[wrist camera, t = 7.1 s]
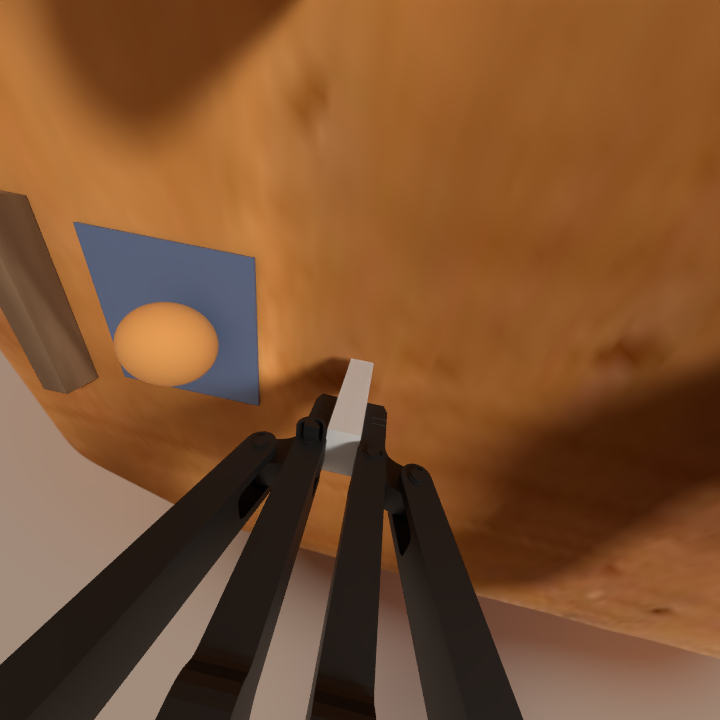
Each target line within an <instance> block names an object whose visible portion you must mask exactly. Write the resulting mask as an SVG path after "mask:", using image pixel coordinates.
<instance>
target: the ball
mask: <svg viewBox="0 0 720 720" xmlns="http://www.w3.org/2000/svg"><path fill="white" fill-rule="evenodd" d="M218 348H219V344H218V337H217V334H216V331H215V329H214V327H213V326H212V324H211V323H210V322H209V320H208V319H207V318H206V317H205V316H203V315H202V314H201V313H200V312H198V311H196V310H195V309H193V308H191V307H189V306H186V305H183V304H179V303H173V302H155V303H150V304H146V305H143V306H141V307H138V308H136V309H134V310H133V311H131V312H130V313H129V314H127V315H126V316H125V317H124V318H123V320H122V321H121V322H120V323H119V325H118V327H117V329H116V332H115V335H114V350H115V354H116V356H117V358H118V360H119V362H120V364H121V365H122V366H123V367H124V369H125V370H126V371H127V372H129V373H130V374H131V375H132V376H134V377H135V378H137V379H139V380H141V381H143V382H146V383H149V384H152V385H157V386H179V385H183V384H187V383H190V382H192V381H195V380H196V379H198V378H200V377H201V376H203V375H204V374H205V373H206V372H207V371H208V370H209V369H210V368H211V367H212V365H213V364H214V362H215V360H216V357H217V354H218Z"/></svg>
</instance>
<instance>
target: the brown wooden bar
mask: <svg viewBox="0 0 720 720" xmlns="http://www.w3.org/2000/svg"><path fill="white" fill-rule="evenodd" d="M0 307H1V309H2V311H3V313H4V315H5V316H6V318H7V320H8V322H9V324H10V326H11V328H12V330H13V332H14V333H15V335H16V337H17V339H18V341H19V343H20V345H21V347H22V348H23V350H24V352H25V354H26V356H27V358H28V360H29V362H30V363H31V365H32V367H33V369H34V371H35V373H36V375H37V377H38V378H39V380H40V382H41V384H42V386H43V388H44V389H47V390H51V391H56V392H60V393H65V394H68V393H70V392H72V391H74V390H76V389H78V388H80V387H82V386H83V385H85V384H87V383H89V382H91V381H93V380H95V379H97V378H98V376H97V373H96V371H95V368H94V366H93V363H92V361H91V358H90V356H89V353H88V351H87V348H86V346H85V343H84V341H83V338H82V336H81V333H80V330H79V328H78V325H77V323H76V320H75V318H74V315H73V313H72V310H71V308H70V305H69V303H68V300H67V298H66V295H65V293H64V290H63V288H62V285H61V283H60V280H59V278H58V275H57V272H56V270H55V267H54V265H53V262H52V260H51V257H50V255H49V252H48V250H47V247H46V245H45V242H44V240H43V237H42V235H41V232H40V230H39V227H38V225H37V222H36V219H35V217H34V214H33V212H32V209H31V207H30V204H29V202H28V199H27V197H26V195H21V194H16V193H11V192H6V191H1V190H0Z"/></svg>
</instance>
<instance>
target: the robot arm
mask: <svg viewBox="0 0 720 720" xmlns="http://www.w3.org/2000/svg"><path fill="white" fill-rule="evenodd" d="M373 364H374V363H371V362H367V361H362V360H357V359H352V358H351V361H350V364H349V367H348V370H347V373H346V376H345V379H344V382H343V384H342V387H341V390H340V393H339V396H338V397H335V396H331V395H326V394H322V395H321V396H319V397H318V398H317V399H316V401H315V404H314V406H313V408H312V411H311V412H310V415H309V416H308V417H304V418H302V419H300V420H299V421H298V423H297V427H296V436H295V437H292V438H288V439H276V437H275V436H274V435H273V434H271V433H269V432H265V431H264V432H257V433H253V434H252V435H250V436H249V437H248V438H246V439H245V440H244V441H243V442H242V443H241V444H240V445H239V446H238V447H237V448H236V449H234V450H233V451H232V452H231V453H230V454H229V455H228V456H227V457H226V458H225V459H224V460H222V461H221V462H220V463H219V464H218V465H217V466H216V467H215V468H214V469H213V470H212V471H211V472H209V473H208V474H207V475H206V476H205V477H204V478H203V479H202V480H201V481H200V482H199V483H197V484H196V485H195V486H194V487H193V488H192V489H191V490H190V491H189V492H188V493H187V494H185V495H184V496H183V497H182V498H181V499H180V500H179V501H178V502H177V503H176V504H175V505H174V506H173V507H171V508H170V509H169V510H168V511H167V512H166V513H165V514H164V515H163V516H162V517H160V518H159V520H157V521H156V522H155V523H154V524H153V525H152V526H151V527H150V528H149V529H147V530H146V531H145V532H144V533H143V534H142V535H141V536H140V537H139V538H138V539H137V540H136V541H134V542H133V543H132V544H131V545H130V546H129V547H128V548H127V549H126V550H125V551H123V552H122V553H121V554H120V555H119V556H118V557H117V558H116V559H115V560H114V561H113V562H112V563H110V564H109V565H108V566H107V567H106V568H105V569H104V570H103V571H102V572H101V573H100V574H98V576H96V577H95V578H94V579H93V580H92V581H91V582H90V583H89V584H88V585H87V586H85V587H84V588H83V589H82V590H81V591H80V592H79V593H78V594H77V595H76V596H75V597H73V598H72V599H71V600H70V601H69V602H68V603H67V604H66V605H65V606H64V607H63V608H62V609H60V610H59V611H58V612H57V613H56V614H55V615H54V616H53V617H52V618H51V619H50V620H48V621H47V622H46V623H45V624H44V625H43V626H42V627H41V628H40V629H39V630H38V631H37V632H35V633H34V634H33V635H32V636H31V637H30V638H29V639H28V640H27V641H26V642H25V643H23V644H22V645H21V646H20V647H19V648H18V649H17V650H16V651H15V652H14V653H13V654H11V655H10V656H9V657H8V658H7V659H6V660H5V661H4V662H3V663H2V664H1V665H0V720H94V719H95V718H96V716H97V715H98V714H99V712H100V711H101V710H102V709H103V707H104V706H105V705H106V703H107V702H108V701H109V699H110V698H111V697H112V696H113V694H114V693H115V692H116V690H117V689H118V688H119V686H120V685H121V684H122V683H123V681H124V680H125V679H126V678H127V676H128V675H129V674H130V672H131V671H132V670H133V668H134V667H135V666H136V665H137V663H138V662H139V661H140V659H141V658H142V657H143V656H144V654H145V653H146V652H147V650H148V649H149V648H150V646H151V645H152V644H153V643H154V641H155V640H156V639H157V637H158V636H159V635H160V633H161V632H162V631H163V630H164V628H165V627H166V626H167V624H168V623H169V622H170V621H171V619H172V618H173V617H174V615H175V614H176V613H177V612H178V610H179V609H180V608H181V606H182V605H183V604H184V602H185V601H186V600H187V598H188V597H189V596H190V595H191V593H192V592H193V591H194V589H195V588H196V587H197V586H198V584H199V583H200V582H201V580H202V579H203V578H204V577H205V575H206V574H207V573H208V571H209V570H210V569H211V567H212V566H213V565H214V564H215V562H216V561H217V560H218V558H219V557H220V556H221V554H222V553H223V552H224V550H225V549H226V548H227V547H228V545H229V544H230V543H231V541H232V540H233V539H234V538H235V536H236V535H237V534H238V533H239V531H240V530H241V529H242V527H243V526H244V525H245V523H246V522H247V521H248V520H249V518H250V517H251V516H252V514H253V513H254V512H255V511H256V509H257V508H258V507H259V505H260V504H261V503H262V501H263V500H264V499H265V498H266V496H267V495H268V494H269V496H268V498H267V500H266V502H265V504H264V506H263V508H262V511H261V513H260V515H259V517H258V519H257V521H256V523H255V526H254V528H253V530H252V532H251V534H250V536H249V539H248V541H247V543H246V545H245V547H244V549H243V551H242V553H241V556H240V558H239V560H238V562H237V564H236V567H235V569H234V571H233V573H232V575H231V577H230V579H229V581H228V583H227V586H226V588H225V590H224V592H223V594H222V596H221V598H220V601H219V603H218V605H217V607H216V609H215V611H214V613H213V616H212V618H211V620H210V622H209V624H208V626H207V628H206V631H205V633H204V635H203V637H202V639H201V642H200V643H199V646H198V647H197V650H196V651H195V653H194V655H193V656H192V658H191V659H190V660H189V662H188V663H187V664H186V665H185V666H184V667H183V668H182V670H181V672H180V673H179V675H178V676H177V678H176V680H175V681H174V683H173V685H172V687H171V689H170V691H169V693H168V695H167V697H166V699H165V701H164V703H163V705H162V707H161V709H160V711H159V713H158V715H157V717H156V719H155V720H249V717H250V714H251V709H252V705H253V700H254V696H255V693H256V689H257V686H258V682H259V679H260V676H261V672H262V669H263V666H264V662H265V659H266V656H267V652H268V649H269V646H270V642H271V639H272V636H273V632H274V629H275V626H276V622H277V619H278V616H279V612H280V609H281V606H282V602H283V599H284V596H285V592H286V589H287V586H288V582H289V579H290V576H291V572H292V569H293V566H294V562H295V559H296V556H297V552H298V549H299V546H300V542H301V539H302V536H303V532H304V529H305V526H306V522H307V519H308V516H309V512H310V509H311V506H312V502H313V499H314V496H315V492H316V489H317V486H318V482H319V478H320V472H321V469H322V470H326V471H330V472H335V473H339V474H343V475H348V476H351V481H350V485H349V490H348V494H347V501H346V507H345V512H344V517H343V523H342V528H341V533H340V539H339V544H338V549H337V555H336V560H335V566H334V571H333V577H332V582H331V587H330V592H329V598H328V604H327V609H326V614H325V619H324V625H323V630H322V635H321V641H320V646H319V652H318V657H317V662H316V668H315V673H314V678H313V683H312V689H311V694H310V699H309V705H308V710H307V715H306V720H376V713H375V707H374V683H375V664H376V645H377V627H378V608H379V589H380V570H381V551H382V532H383V513H384V509H385V510H386V511H388V517H389V522H390V527H391V532H392V537H393V542H394V547H395V552H396V558H397V563H398V568H399V573H400V578H401V583H402V588H403V594H404V599H405V604H406V609H407V614H408V619H409V624H410V629H411V635H412V639H413V645H414V649H415V655H416V660H417V665H418V671H419V675H420V681H421V686H422V691H423V696H424V701H425V706H426V712H427V717H428V720H523V718H522V715H521V712H520V710H519V707H518V704H517V702H516V699H515V696H514V694H513V691H512V689H511V686H510V683H509V681H508V678H507V675H506V673H505V670H504V668H503V665H502V663H501V660H500V657H499V655H498V652H497V649H496V647H495V644H494V641H493V639H492V636H491V633H490V631H489V628H488V626H487V623H486V620H485V618H484V615H483V613H482V610H481V607H480V605H479V602H478V599H477V597H476V594H475V591H474V589H473V586H472V583H471V581H470V578H469V576H468V573H467V570H466V568H465V565H464V562H463V560H462V557H461V555H460V552H459V549H458V547H457V544H456V541H455V539H454V536H453V533H452V531H451V528H450V526H449V523H448V520H447V518H446V515H445V512H444V510H443V507H442V505H441V502H440V499H439V497H438V494H437V491H436V489H435V486H434V484H433V481H432V478H431V476H430V474H429V473H428V471H427V470H425V469H424V468H423V467H421V466H419V465H417V464H407V465H405V466H404V467H403V466H401V465H399V464H397V463H396V462H394V461H393V460H392V459H391V458H389V456H388V455H387V453H386V451H385V439H386V420H387V412H386V410H385V408H384V406H380V405H375V404H370V403H367V400H368V394H369V388H370V382H371V376H372V370H373ZM269 492H270V493H269Z"/></svg>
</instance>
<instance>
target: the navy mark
mask: <svg viewBox="0 0 720 720" xmlns="http://www.w3.org/2000/svg"><path fill="white" fill-rule="evenodd" d="M73 223H74V226H75V229H76V232H77V235H78V238H79V241H80V244H81V247H82V250H83V253H84V256H85V259H86V262H87V265H88V268H89V271H90V274H91V277H92V280H93V283H94V286H95V289H96V292H97V295H98V298H99V301H100V304H101V307H102V310H103V313H104V316H105V319H106V322H107V325H108V328H109V331H110V334H111V337H112V340H113V343H114V335H115V332H116V329H117V327H118V325H119V323H120V322H121V321H122V320H123V318H124V317H125V316H126V315H127V314H129V313H130V312H131V311H133V310H134V309H136V308H138V307H141V306H143V305H146V304H150V303H155V302H173V303H179V304H183V305H186V306H189V307H191V308H193V309H195V310H196V311H198V312H200V313H201V314H202V315H203V316H205V317H206V318H207V319H208V320H209V322H210V323H211V324H212V326H213V327H214V329H215V331H216V334H217V337H218V344H219V348H218V354H217V357H216V360H215V362H214V364H213V365H212V367H211V368H210V369H209V370H208V371H207V372H206V373H205V374H204V375H203V376H201V377H200V378H198V379H196V380H195V381H192V382H190V383H187V384H183V385H179V386H170V387H175V388H179V389H184V390H188V391H193V392H197V393H202V394H206V395H211V396H216V397H220V398H225V399H229V400H234V401H238V402H243V403H248V404H252V405H257V406H259V404H260V403H259V371H258V340H257V308H256V276H255V258H254V257H249V256H244V255H239V254H234V253H229V252H224V251H219V250H214V249H209V248H204V247H199V246H194V245H189V244H184V243H179V242H174V241H169V240H164V239H159V238H154V237H149V236H144V235H139V234H134V233H129V232H124V231H119V230H114V229H109V228H104V227H99V226H94V225H89V224H84V223H79V222H73ZM121 367H122V370H123V373H124V376H125V377H129V378H133V379H137V378H135V377H134V376H132V375H131V374H130V373H129V372H127V371H126V370H125V369H124V367H123V366H122V365H121ZM138 380H139V379H138Z"/></svg>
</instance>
